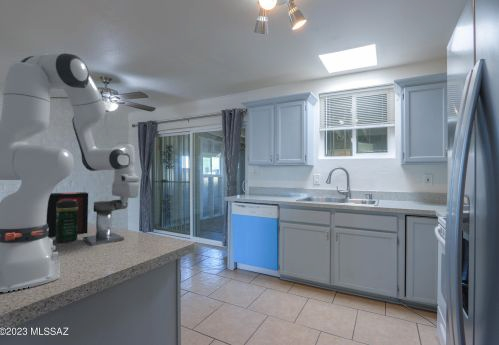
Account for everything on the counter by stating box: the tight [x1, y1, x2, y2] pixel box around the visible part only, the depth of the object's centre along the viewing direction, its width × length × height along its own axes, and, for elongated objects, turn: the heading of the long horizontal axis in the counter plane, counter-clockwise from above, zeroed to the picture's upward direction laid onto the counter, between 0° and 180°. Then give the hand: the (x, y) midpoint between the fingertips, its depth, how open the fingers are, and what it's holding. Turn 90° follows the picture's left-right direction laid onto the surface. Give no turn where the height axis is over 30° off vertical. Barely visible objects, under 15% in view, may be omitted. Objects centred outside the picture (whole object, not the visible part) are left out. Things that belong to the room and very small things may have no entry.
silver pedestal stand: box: [82, 211, 125, 246], centre depth 117 cm, size 13×13×13 cm
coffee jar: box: [54, 199, 78, 243], centre depth 115 cm, size 10×8×19 cm
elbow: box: [93, 199, 128, 213], centre depth 120 cm, size 15×8×5 cm, turn 157°
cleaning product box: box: [47, 191, 89, 238], centre depth 127 cm, size 16×9×20 cm, turn 130°
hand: (124, 206), depth 123 cm, fingers closed, pressing on elbow
